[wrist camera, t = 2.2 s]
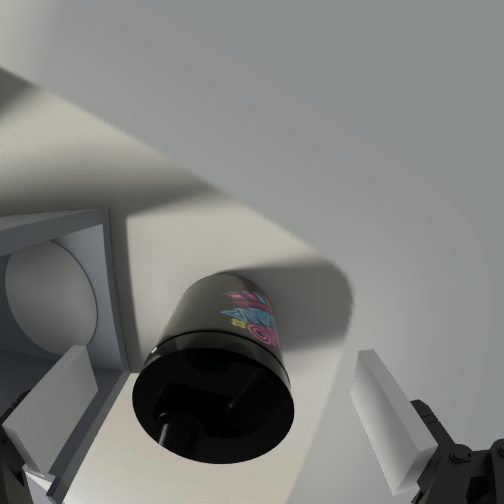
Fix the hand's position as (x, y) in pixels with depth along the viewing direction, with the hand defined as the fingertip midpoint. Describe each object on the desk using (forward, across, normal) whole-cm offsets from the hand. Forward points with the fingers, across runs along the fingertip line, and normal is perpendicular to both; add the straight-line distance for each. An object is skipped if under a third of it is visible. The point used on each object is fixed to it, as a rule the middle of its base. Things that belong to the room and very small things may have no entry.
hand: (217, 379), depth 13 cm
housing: (+8, +22, -1) cm, 24 cm away
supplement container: (+8, 0, 0) cm, 8 cm away
